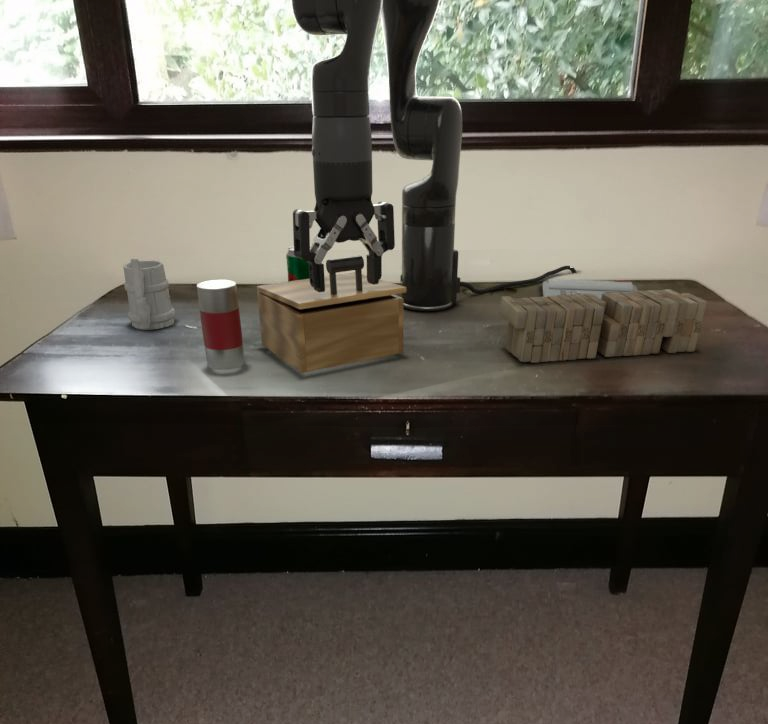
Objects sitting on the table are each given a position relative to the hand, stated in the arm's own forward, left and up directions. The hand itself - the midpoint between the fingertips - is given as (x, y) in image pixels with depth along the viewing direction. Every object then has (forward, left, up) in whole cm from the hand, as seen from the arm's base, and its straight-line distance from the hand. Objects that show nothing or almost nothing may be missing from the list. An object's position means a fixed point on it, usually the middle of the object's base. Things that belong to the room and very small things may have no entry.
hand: (346, 287), depth 100 cm
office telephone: (-54, -5, -11) cm, 55 cm away
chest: (0, -6, -11) cm, 13 cm away
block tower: (-35, +14, -11) cm, 39 cm away
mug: (+20, -34, -11) cm, 41 cm away
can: (+16, -8, -11) cm, 21 cm away
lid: (0, -5, -2) cm, 6 cm away
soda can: (-4, -24, -11) cm, 27 cm away
